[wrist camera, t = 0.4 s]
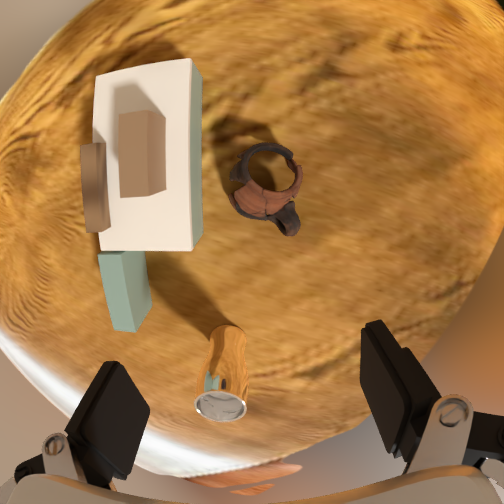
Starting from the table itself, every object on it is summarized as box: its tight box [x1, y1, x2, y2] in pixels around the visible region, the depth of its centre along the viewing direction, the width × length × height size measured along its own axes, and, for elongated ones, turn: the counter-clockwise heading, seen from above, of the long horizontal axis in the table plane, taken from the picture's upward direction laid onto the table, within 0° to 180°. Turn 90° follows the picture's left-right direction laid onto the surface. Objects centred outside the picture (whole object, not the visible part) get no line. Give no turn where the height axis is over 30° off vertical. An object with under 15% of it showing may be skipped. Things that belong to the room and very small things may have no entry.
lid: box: [93, 58, 193, 251], centre depth 26 cm, size 22×12×8 cm, turn 0°
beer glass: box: [194, 325, 249, 422], centre depth 37 cm, size 7×7×15 cm
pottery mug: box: [229, 143, 303, 236], centre depth 34 cm, size 12×10×8 cm
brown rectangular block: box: [80, 142, 111, 233], centre depth 27 cm, size 10×2×2 cm, turn 0°
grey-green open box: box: [98, 61, 203, 332], centre depth 33 cm, size 34×13×8 cm, turn 0°
